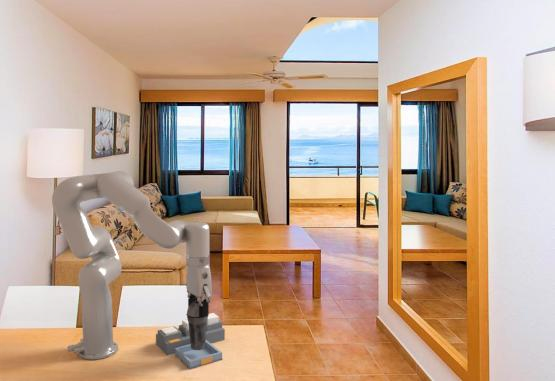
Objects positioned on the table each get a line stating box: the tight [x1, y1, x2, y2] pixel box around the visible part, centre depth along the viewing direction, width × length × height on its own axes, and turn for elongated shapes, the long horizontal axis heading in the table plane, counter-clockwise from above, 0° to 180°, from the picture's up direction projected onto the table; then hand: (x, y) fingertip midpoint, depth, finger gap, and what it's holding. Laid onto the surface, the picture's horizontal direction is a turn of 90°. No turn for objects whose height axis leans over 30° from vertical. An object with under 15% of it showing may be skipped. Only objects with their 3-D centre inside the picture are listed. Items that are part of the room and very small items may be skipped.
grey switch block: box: [155, 312, 226, 356], centre depth 167 cm, size 22×10×8 cm, turn 126°
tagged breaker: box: [160, 326, 178, 336], centre depth 162 cm, size 4×4×2 cm
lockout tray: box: [174, 340, 223, 370], centre depth 155 cm, size 12×12×2 cm
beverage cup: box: [186, 299, 208, 350], centre depth 154 cm, size 7×7×20 cm
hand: (198, 312), depth 154 cm, fingers closed on beverage cup, 7 cm apart
